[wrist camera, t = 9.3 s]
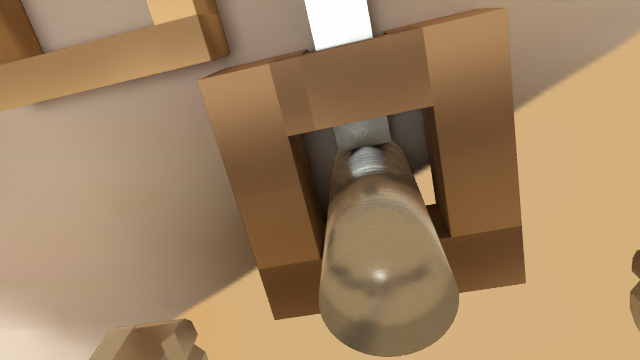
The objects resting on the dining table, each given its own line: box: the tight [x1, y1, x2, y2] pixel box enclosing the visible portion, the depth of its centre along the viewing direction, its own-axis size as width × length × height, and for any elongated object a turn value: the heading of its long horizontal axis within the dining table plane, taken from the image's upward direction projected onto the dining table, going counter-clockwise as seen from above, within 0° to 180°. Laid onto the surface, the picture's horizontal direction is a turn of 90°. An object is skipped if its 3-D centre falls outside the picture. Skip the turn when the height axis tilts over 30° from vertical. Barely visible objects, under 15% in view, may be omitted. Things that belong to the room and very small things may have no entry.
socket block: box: [197, 8, 526, 320], centre depth 17 cm, size 10×10×3 cm
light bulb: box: [319, 139, 459, 357], centre depth 14 cm, size 3×3×9 cm
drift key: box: [305, 0, 391, 152], centre depth 15 cm, size 9×4×3 cm, turn 13°
